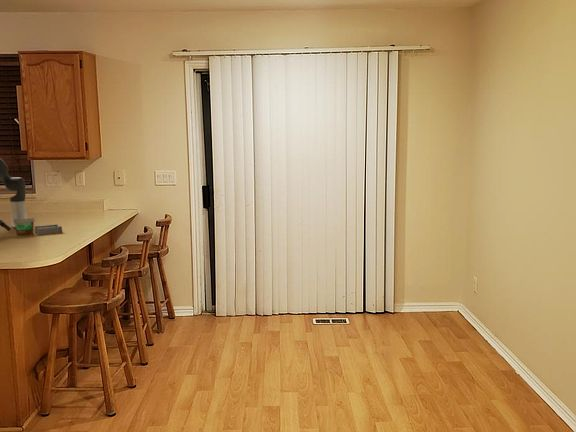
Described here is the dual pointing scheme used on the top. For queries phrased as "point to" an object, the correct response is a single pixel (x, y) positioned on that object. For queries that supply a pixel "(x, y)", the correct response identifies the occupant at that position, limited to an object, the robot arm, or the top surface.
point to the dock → (48, 229)
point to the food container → (24, 226)
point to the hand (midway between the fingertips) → (9, 229)
